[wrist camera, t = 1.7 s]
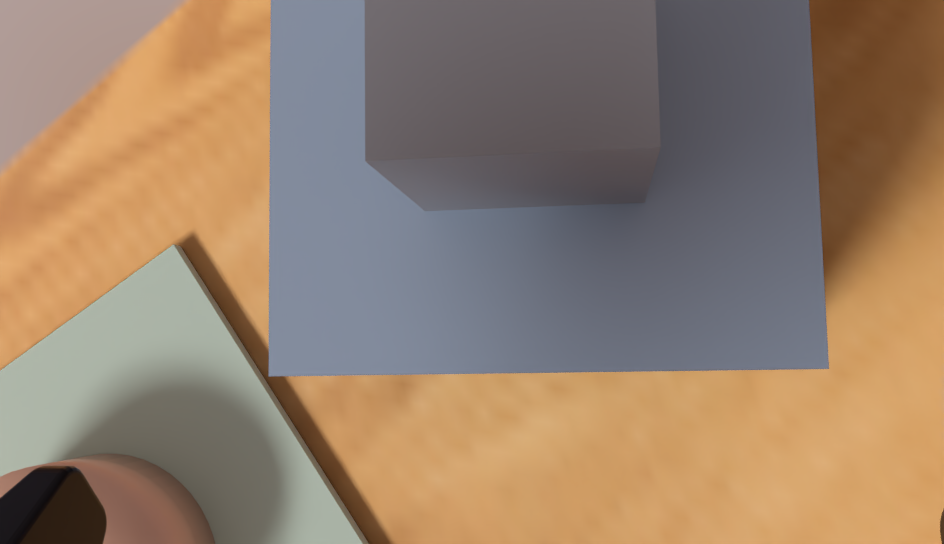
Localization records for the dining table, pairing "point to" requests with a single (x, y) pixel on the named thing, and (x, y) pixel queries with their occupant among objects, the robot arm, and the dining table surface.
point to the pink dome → (135, 500)
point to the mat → (171, 409)
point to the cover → (543, 187)
